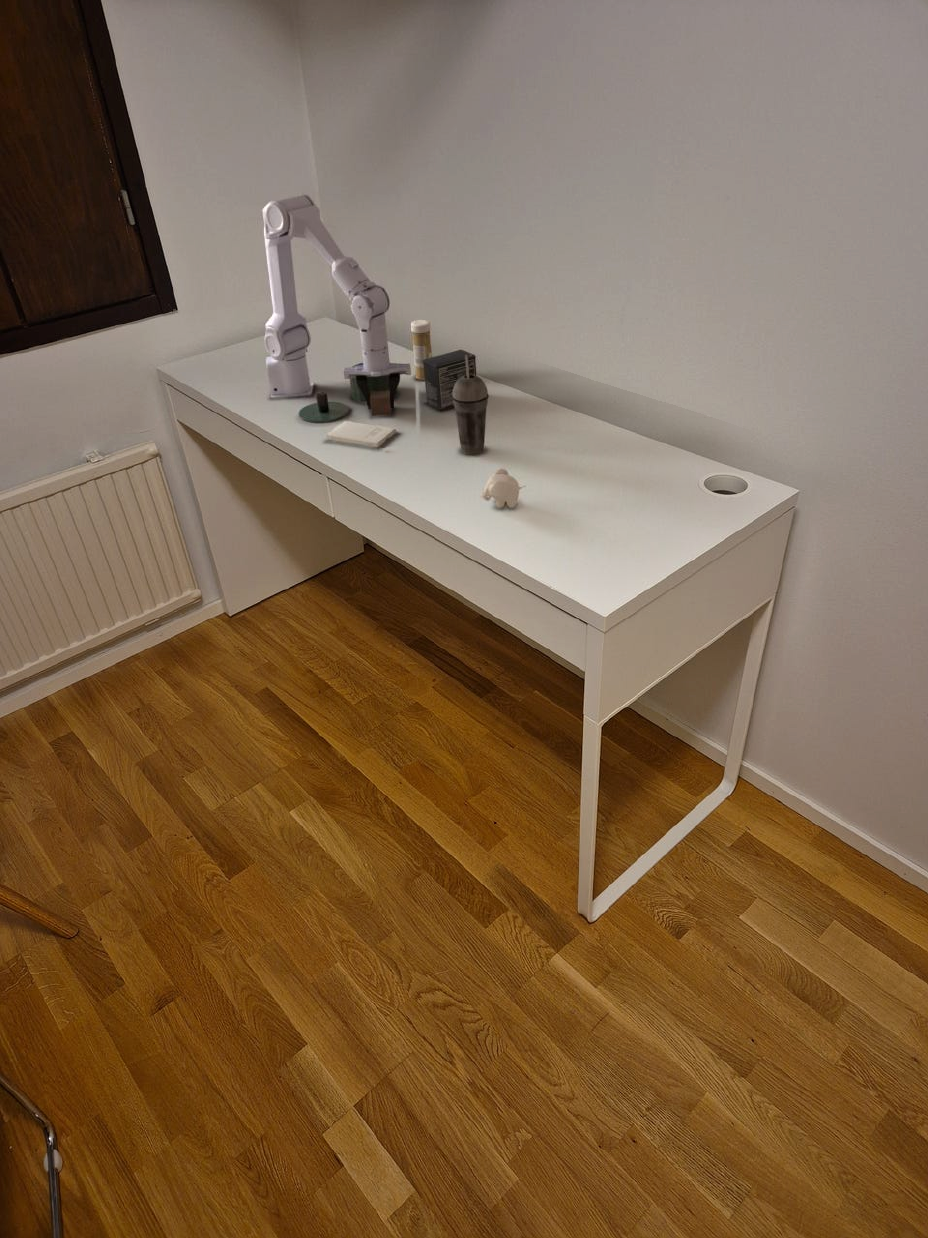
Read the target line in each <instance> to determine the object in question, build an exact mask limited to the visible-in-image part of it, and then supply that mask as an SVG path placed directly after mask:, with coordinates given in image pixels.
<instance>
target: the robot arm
mask: <svg viewBox="0 0 928 1238" xmlns="http://www.w3.org/2000/svg"><path fill="white" fill-rule="evenodd" d="M315 203H316V202H314V200H313V199H312V197H311V196H310V195H308V194H307V193H299V194H298V195H294V196H291V197H285V198H282V199H278V200H270V201H269V202H268V203H267V204H266V205H265V206H264V207H263V208H262V215H263V217H262V218H263V237H264V245H265V254H266V255H265V256H266V263H267V271H268V272H267V273H268V281H269V288H270V289H269V290H270V296H271V305H272V314H271V316H270V317H269V318H268V320H267V321H266V323H265V325H264V328H265V333H264V334H265V335H264V340H263V341H264V347H265V350H266V351H267V353H268V354H269V356H267V357H266V361H265V364H266V373H267V379H268V380H267V381H268V384H269V390H270V391H269V392H270V397H271V398H284V397H297V396H298V397H300V396H311V395H312V393H313V388H314V385H315V384H314V382H311V380H310V373H309V366H308V361H307V356H306V355H307V354H306V353H308V348H309V346H310V344H311V342H312V341H311V339H312V337H311V333H310V330H309V328H308V325H307V319H306V317H304V316H303V315H302V314H301V313H299V312H298V303H297V293H296V284H295V283H296V282H295V281H296V280H295V273H294V271H295V270H294V263H293V253H292V242H291V241H292V240H293V239H294V238H300V239H305V240H307V241H308V242H309V243H310V245H312V247H313V248H314V249H315V250H316V251H317V252H318V253H319V254H320V256H322V258H323V259H324V260H325V261H326V262H327V263H328V265H329V266H330V267H331V277H332V279H333V280H334V281H335V282H336V284H337V285H338V286H339V288H340V289H341V290H342V291H343V293H344V294H345V295H346V296H347V298H348V299H349V301H350V302H351V304H350V310H351V313H352V315H353V316H354V318H355V321H356V326H357V327H358V329H359V338H360V347H361V355H362V363H363V365H359V366H354V365H353V366H354V367H352V366H349V367H348V366H347V367H343V370H342V371H343V378H344V380H350V378H355V377H356V384H357V386H358V387H359V389H360V390H361V392H362V394H363V396H364V398H365V400H366V402H365V403H366V405H367V409H368V411H371V405H370V391H369V380H368V377H370V376H386V375H389V388H390V403H391V408H392V409H395V399H396V395H397V390H398V388H399V385H400V381H401V376H402V375H405V376H411V375H412V369H411V363H401V362H400V363H398V362H390V353H389V352H390V351H389V343H388V333H387V332H388V331H387V321H386V313H387V312H388V311H389V309H390V306H391V301H390V297H389V294H388V293H387V291H386V289H385V287H383V286H381V285H380V284H376V283H375V282H374V281H371V279H369V277H368V276H367V274H366V273H365V272H364V270H363V269H362V268H361V266H360V265H359V263H358V261H357V260H355V259H354V258H353V257H351V256H350V257H349V256H345V255H344V253H343V251H342V250H341V249H340V247H339V245H337V242H336V241H335V240H334V239H333V236H332V235H331V234H330V232H329V231H328V228H327V227H326V226H325V225H324V223H323V221H322V220H321V211H320V208H319V207H318V206H317V204H315ZM395 394H396V395H395Z"/></svg>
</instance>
